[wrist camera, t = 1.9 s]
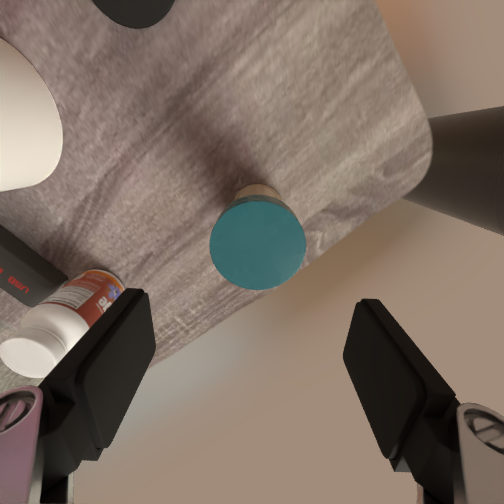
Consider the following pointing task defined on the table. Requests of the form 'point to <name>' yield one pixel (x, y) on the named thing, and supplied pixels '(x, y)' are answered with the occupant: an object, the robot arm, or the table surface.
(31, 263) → the usb drive
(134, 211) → the table surface
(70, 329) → the pill bottle
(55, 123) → the canister
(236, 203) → the jar lid
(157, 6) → the coaster
